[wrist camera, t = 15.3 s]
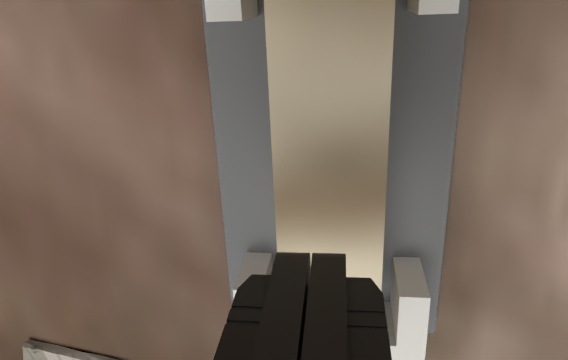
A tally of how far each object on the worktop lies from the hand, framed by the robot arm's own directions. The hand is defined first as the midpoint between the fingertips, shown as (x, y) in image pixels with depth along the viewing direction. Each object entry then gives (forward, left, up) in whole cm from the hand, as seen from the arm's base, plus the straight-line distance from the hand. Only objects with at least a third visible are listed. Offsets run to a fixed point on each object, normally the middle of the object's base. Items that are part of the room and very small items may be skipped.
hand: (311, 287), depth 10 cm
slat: (0, 0, -10) cm, 10 cm away
